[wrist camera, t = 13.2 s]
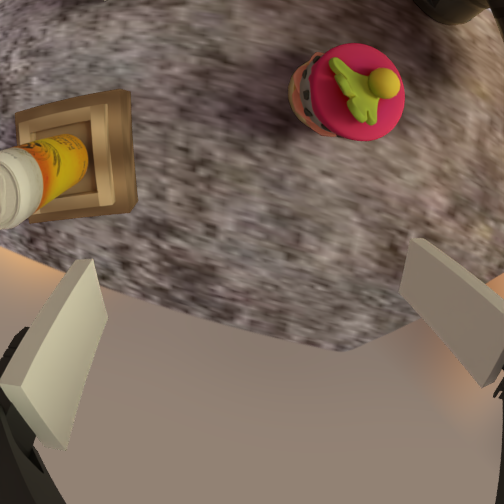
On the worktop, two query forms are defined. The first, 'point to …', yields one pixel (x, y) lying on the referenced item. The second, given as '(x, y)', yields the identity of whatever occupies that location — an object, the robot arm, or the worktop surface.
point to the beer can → (38, 175)
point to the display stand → (98, 148)
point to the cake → (348, 93)
